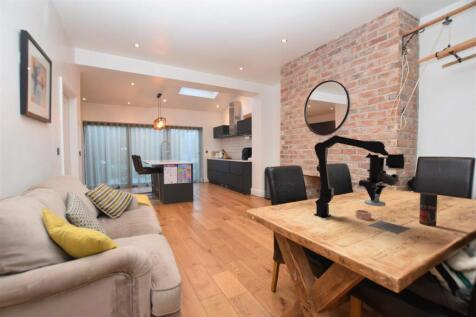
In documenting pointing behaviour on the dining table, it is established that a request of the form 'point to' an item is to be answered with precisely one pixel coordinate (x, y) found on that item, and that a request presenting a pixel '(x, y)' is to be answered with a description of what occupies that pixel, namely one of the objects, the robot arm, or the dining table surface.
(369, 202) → the lid
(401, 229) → the mat
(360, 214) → the pink block
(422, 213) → the deodorant
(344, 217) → the dining table surface
